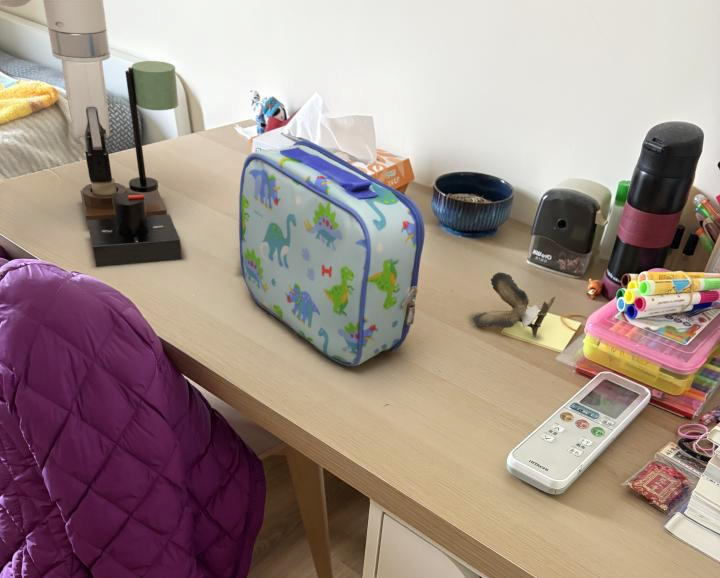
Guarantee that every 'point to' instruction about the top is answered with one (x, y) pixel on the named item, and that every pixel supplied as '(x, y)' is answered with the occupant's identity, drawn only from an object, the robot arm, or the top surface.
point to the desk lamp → (149, 106)
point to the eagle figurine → (516, 301)
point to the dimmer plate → (134, 242)
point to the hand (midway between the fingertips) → (100, 179)
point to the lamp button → (104, 187)
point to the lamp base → (103, 204)
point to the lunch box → (329, 250)
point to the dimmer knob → (130, 213)
